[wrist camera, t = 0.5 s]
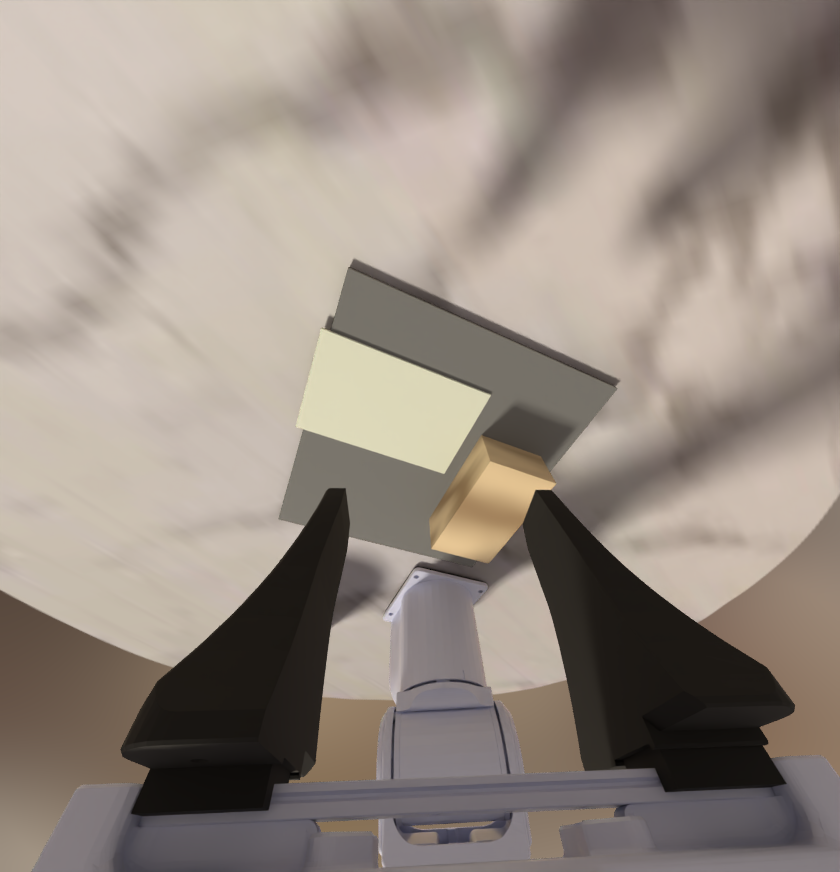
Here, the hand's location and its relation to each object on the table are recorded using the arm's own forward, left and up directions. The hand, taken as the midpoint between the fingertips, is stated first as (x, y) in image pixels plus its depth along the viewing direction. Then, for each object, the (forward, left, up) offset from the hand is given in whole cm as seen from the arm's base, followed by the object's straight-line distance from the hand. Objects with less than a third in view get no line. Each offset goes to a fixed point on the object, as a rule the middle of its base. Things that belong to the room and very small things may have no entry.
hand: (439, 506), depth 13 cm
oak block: (-6, -7, -10) cm, 14 cm away
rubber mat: (-5, -2, -10) cm, 12 cm away
